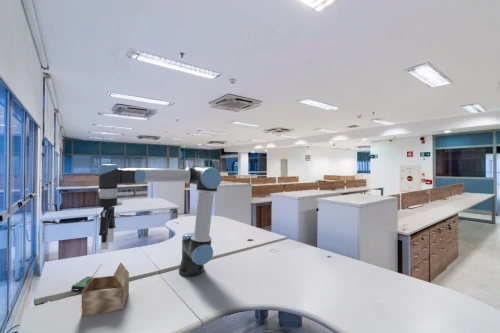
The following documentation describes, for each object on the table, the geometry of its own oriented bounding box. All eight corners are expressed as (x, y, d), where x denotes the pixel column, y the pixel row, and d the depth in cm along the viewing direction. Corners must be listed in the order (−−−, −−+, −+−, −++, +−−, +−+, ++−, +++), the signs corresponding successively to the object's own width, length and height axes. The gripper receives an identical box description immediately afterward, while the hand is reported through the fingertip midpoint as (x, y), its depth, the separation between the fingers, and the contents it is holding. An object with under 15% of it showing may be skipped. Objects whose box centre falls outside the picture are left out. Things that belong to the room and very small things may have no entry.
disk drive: (111, 283, 131) (87, 280, 133) (111, 278, 131) (87, 275, 133) (96, 294, 121) (70, 290, 123) (96, 288, 121) (71, 285, 123)
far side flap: (81, 291, 103) (91, 276, 104) (92, 276, 116) (101, 264, 117) (82, 291, 103) (92, 277, 104) (92, 277, 116) (101, 264, 117)
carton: (128, 292, 121) (129, 273, 121) (122, 310, 107) (122, 288, 107) (92, 297, 117) (92, 277, 116) (81, 316, 102) (81, 293, 102)
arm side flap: (129, 272, 121) (120, 262, 119) (123, 286, 108) (114, 274, 106) (128, 273, 120) (120, 262, 119) (122, 286, 108) (113, 275, 106)
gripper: (105, 194, 120) (105, 238, 121) (90, 201, 100) (90, 255, 100) (122, 194, 123) (121, 237, 123) (111, 200, 102) (110, 253, 102)
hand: (107, 245), depth 111 cm, fingers open, 9 cm apart
